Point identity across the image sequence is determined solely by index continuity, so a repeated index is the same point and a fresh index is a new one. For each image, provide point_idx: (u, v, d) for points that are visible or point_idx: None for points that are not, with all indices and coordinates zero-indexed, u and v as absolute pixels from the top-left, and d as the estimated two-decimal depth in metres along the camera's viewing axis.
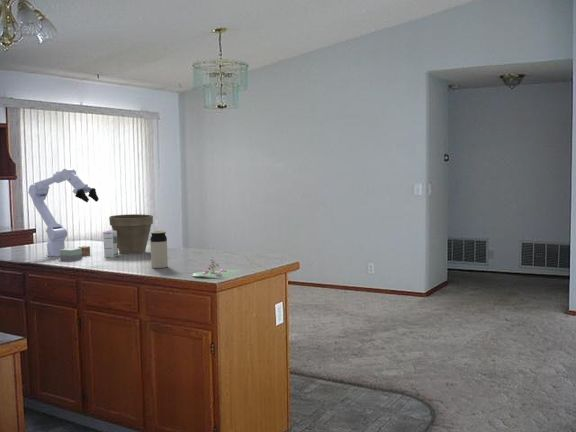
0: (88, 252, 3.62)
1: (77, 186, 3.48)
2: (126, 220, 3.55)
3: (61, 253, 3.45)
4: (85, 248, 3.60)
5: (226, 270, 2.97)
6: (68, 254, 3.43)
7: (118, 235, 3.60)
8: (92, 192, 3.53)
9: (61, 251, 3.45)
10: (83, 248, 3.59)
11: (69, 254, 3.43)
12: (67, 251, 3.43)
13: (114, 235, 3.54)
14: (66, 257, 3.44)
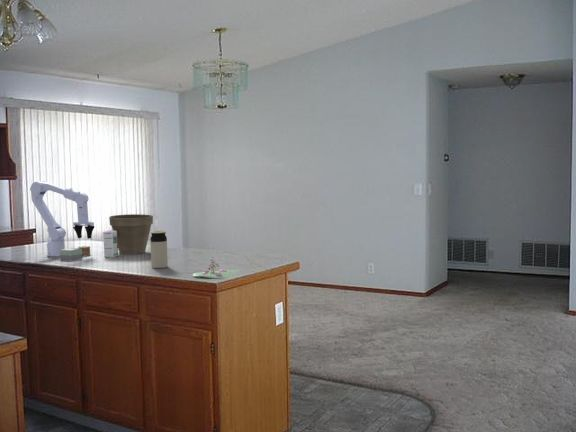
0: (88, 252, 3.62)
1: (87, 218, 3.59)
2: (126, 220, 3.55)
3: (61, 253, 3.46)
4: (85, 248, 3.60)
5: (226, 270, 2.97)
6: (68, 254, 3.43)
7: (118, 235, 3.60)
8: (80, 228, 3.63)
9: (61, 251, 3.46)
10: (83, 248, 3.59)
11: (69, 254, 3.43)
12: (67, 251, 3.44)
13: (114, 235, 3.54)
14: (66, 257, 3.44)
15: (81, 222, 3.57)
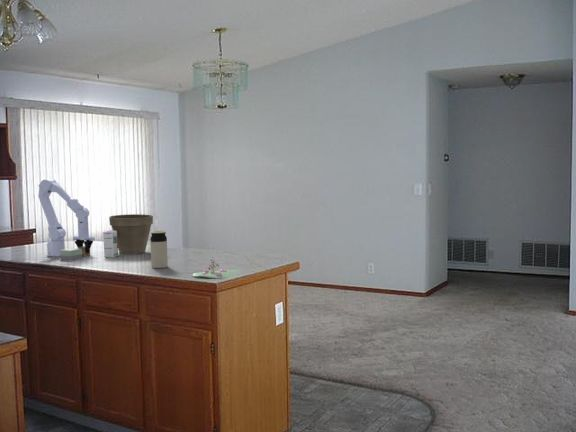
0: None
1: (87, 233, 3.60)
2: (126, 220, 3.55)
3: (61, 253, 3.46)
4: None
5: (226, 270, 2.97)
6: (68, 254, 3.43)
7: (118, 235, 3.60)
8: (82, 243, 3.64)
9: (61, 251, 3.46)
10: (83, 248, 3.59)
11: (69, 254, 3.43)
12: (67, 251, 3.43)
13: (114, 235, 3.54)
14: (66, 257, 3.44)
15: (81, 237, 3.58)
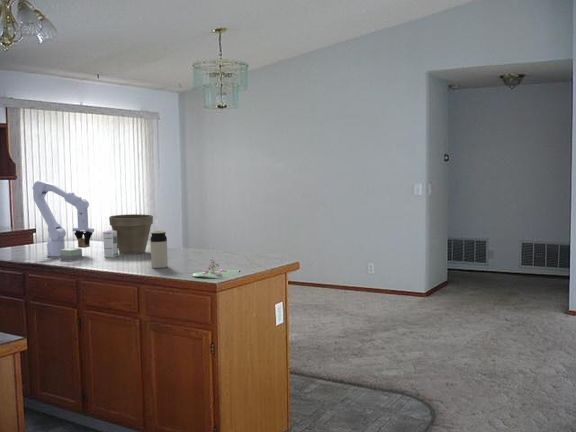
0: (88, 244, 3.61)
1: (87, 224, 3.60)
2: (126, 220, 3.55)
3: (61, 253, 3.46)
4: None
5: (226, 270, 2.97)
6: (68, 254, 3.43)
7: (118, 235, 3.60)
8: (81, 234, 3.63)
9: (61, 251, 3.46)
10: (83, 239, 3.59)
11: (69, 254, 3.43)
12: (67, 251, 3.43)
13: (114, 235, 3.54)
14: (66, 257, 3.44)
15: (81, 228, 3.58)
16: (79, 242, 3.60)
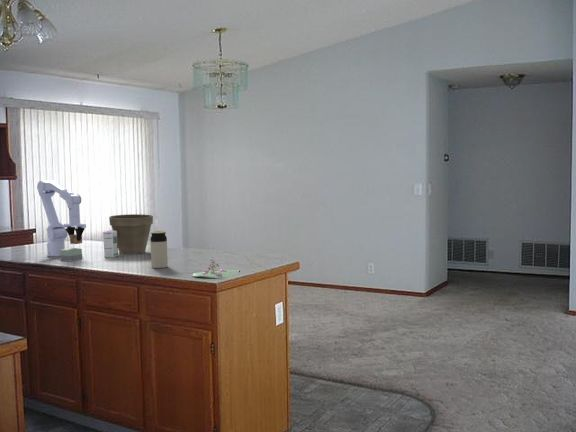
0: None
1: (79, 220, 3.51)
2: (126, 220, 3.55)
3: (61, 253, 3.46)
4: None
5: (226, 270, 2.97)
6: (68, 254, 3.43)
7: (118, 235, 3.60)
8: (73, 230, 3.54)
9: (61, 251, 3.46)
10: (75, 236, 3.50)
11: (69, 254, 3.43)
12: (67, 251, 3.43)
13: (114, 235, 3.54)
14: (66, 257, 3.44)
15: (73, 224, 3.48)
16: (71, 238, 3.51)
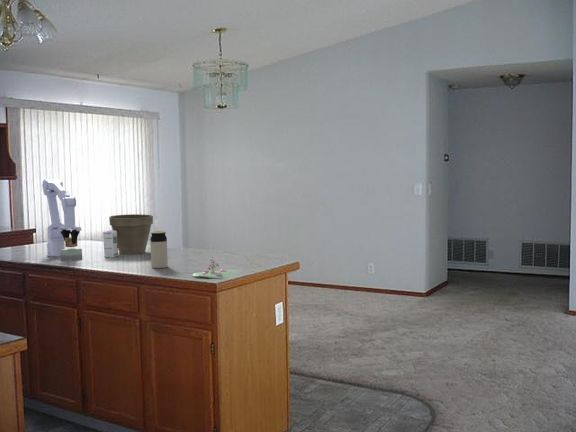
0: None
1: (74, 223, 3.45)
2: (126, 220, 3.55)
3: (61, 253, 3.46)
4: None
5: (226, 270, 2.97)
6: (68, 254, 3.43)
7: (118, 235, 3.60)
8: (68, 233, 3.49)
9: (61, 251, 3.46)
10: (70, 239, 3.45)
11: (68, 254, 3.43)
12: (67, 251, 3.43)
13: (114, 235, 3.54)
14: (66, 257, 3.44)
15: (68, 227, 3.43)
16: (66, 241, 3.46)
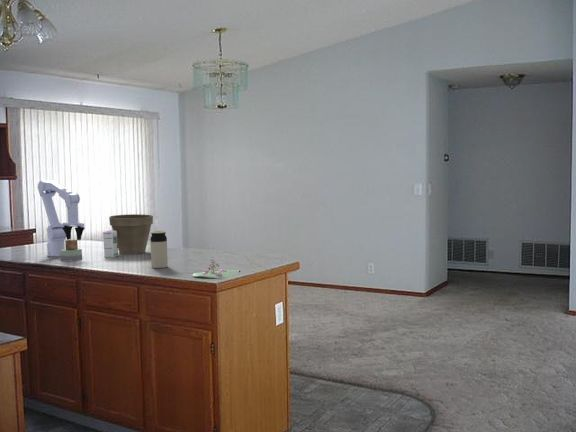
0: (76, 245, 3.48)
1: (77, 219, 3.50)
2: (126, 220, 3.55)
3: (61, 253, 3.46)
4: (73, 241, 3.46)
5: (226, 270, 2.97)
6: (67, 255, 3.43)
7: (118, 235, 3.60)
8: (70, 229, 3.54)
9: (61, 251, 3.46)
10: (71, 241, 3.45)
11: (68, 255, 3.43)
12: (66, 252, 3.43)
13: (114, 235, 3.54)
14: (66, 258, 3.44)
15: (71, 223, 3.48)
16: (67, 244, 3.46)
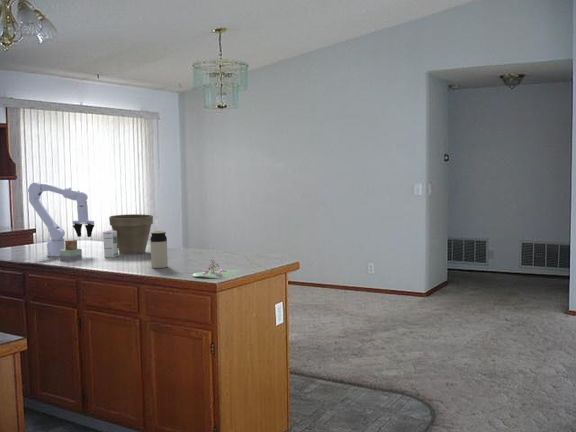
0: (75, 246, 3.48)
1: (87, 217, 3.62)
2: (126, 220, 3.55)
3: (61, 253, 3.45)
4: (73, 241, 3.45)
5: (226, 270, 2.97)
6: (67, 254, 3.43)
7: (118, 235, 3.60)
8: (80, 227, 3.66)
9: (61, 251, 3.45)
10: (71, 241, 3.45)
11: (68, 255, 3.42)
12: (66, 251, 3.43)
13: (114, 235, 3.54)
14: (66, 258, 3.44)
15: (81, 221, 3.60)
16: (67, 244, 3.45)
